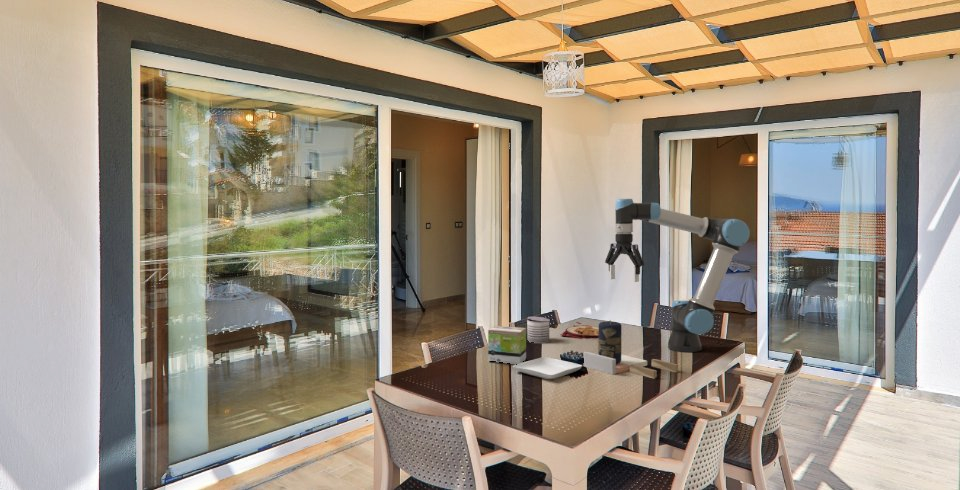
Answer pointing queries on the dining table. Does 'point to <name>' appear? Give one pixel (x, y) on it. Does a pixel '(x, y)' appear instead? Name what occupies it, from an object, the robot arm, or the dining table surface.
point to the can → (538, 329)
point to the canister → (610, 340)
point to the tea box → (507, 344)
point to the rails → (653, 373)
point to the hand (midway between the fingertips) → (624, 280)
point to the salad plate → (547, 367)
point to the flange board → (610, 363)
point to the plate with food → (582, 332)
